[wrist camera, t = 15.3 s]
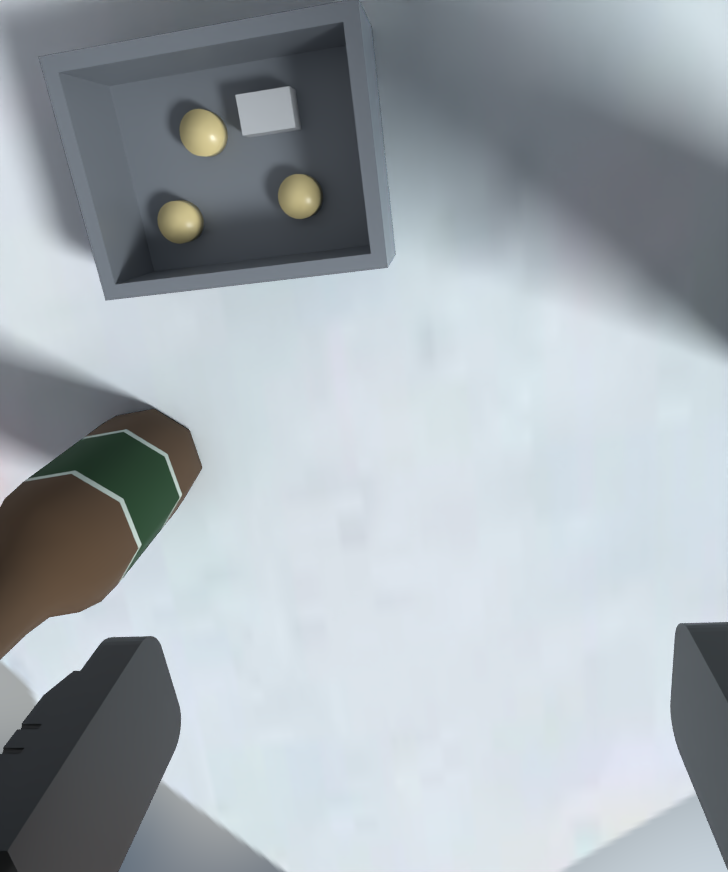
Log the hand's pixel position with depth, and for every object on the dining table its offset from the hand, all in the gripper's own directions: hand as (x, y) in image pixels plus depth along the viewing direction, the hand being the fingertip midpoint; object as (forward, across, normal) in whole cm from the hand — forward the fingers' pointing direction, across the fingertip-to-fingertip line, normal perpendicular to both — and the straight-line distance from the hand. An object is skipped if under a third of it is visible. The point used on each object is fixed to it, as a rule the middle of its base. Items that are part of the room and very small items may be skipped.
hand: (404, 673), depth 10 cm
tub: (+32, +10, -9) cm, 35 cm away
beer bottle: (+32, +21, +9) cm, 40 cm away
